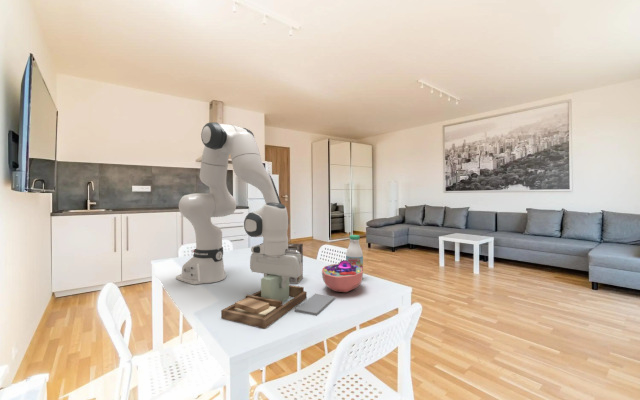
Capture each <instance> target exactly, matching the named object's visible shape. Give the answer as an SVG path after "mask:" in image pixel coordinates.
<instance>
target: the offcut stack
mask: <svg viewBox="0 0 640 400" xmlns="http://www.w3.org/2000/svg"><path fill="white" fill-rule="evenodd" d="M244 298H245V297H244ZM244 298H243V299H241V300H238V301H236V302H235V301H234V302H235V303H234V304H235V307H236V308H235V309H234V311H236V312H241V313H245V314H250V315H254V316H259V317H263V318H264V317H266V316H267V315H269V314H270V313H272V312H273V311H275V310H276V307H273V306H269V303H267V302H263V301H259V300H256V299H252V298H249V297H248V298H245V299H244Z"/></svg>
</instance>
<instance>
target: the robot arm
mask: <svg viewBox="0 0 640 400" xmlns="http://www.w3.org/2000/svg"><path fill="white" fill-rule="evenodd" d="M200 135H201V141H202V144H203V145H204V148H203V151H202V155H201V156H202V157H201V161H200V162H201V163H200V169H199V170H200V171H199V179H200V182H201V183H202V184H204V185H205V186H206V187H209V188H208V189H209V193H205V192H202V193H195V192H194V193H190V194H185V195H183V196H182V197H181V198H180V200H179V202H178V211H179V212H180V214H181V215H182V216H183V218H185V219H187V220H188V221H189V223H191V225H192V226H193V230H194V233H195V246H196V247H195V248H194V249H191V252H192V253H193V254H192V257H191V258H189V260H187V261H186V262H184V263H183V265H182V268H181V274H178V275H177V276H175V279H176V280H178V281H181V282H184V283H187V284H189V285H193V286H194V285H200V284H211V283H217V282H220V281H222V280H225V279H226V278H227V275H226V270H225V265H224V258H223V257H224V256H223V255H224V247H223V232H222V229H221V228H220V227H219V226H217V225H215V224H213V222H212V220H211V218H220V217H222V218H223V217H227V216H230V215H233V213H234V212H235V211H236V210H237V209H236V208H237V200H236V199H235V197H234V196H233V195H232V194H231V193H230V191H229V189H228V186H227V174H228V167H229V157H230V158H231V163H232V164H231V165H232V169H233V172H234V174H235V177H236V178H238V179H239V180H241V181H242V182H244V183H246V184H249V185H251V186H253V187H255V188H256V189H257V190H259V191H260V192H261V194H262V195H263V200H264V202H265V204H264V205H263V207H261V208H260V209H258V210H255V211H252V212H249V213H247V215H246V216H245V217H244V221H243V227H244V231H245V234H247V235H248V236H249V237H251V238H252V237H253V238H263V241H262V243H260V244H257V245H253V246H252V247H251V248H250V249H251V251H250V253H251V255H250V258H249V267H250V270H251V273H258V274H259V273H260V274H263V277H265V276H268V275H270V274H271V275H278V276H282V279H283V281H282V282H281V283H279V288H285V282H286V281H287V279H288V277H292V278H298V277H300V276H301V275H302V273H304V272H303V271H304V270H303V271H302V262H301V261H302V255H301V253H300V252H298V251H297V250H288V244H289V237H288V229H289V224H290V220H289V219H290V218H289V216H288V215H289V214H288V209H287V207H286V205H284V204H283V203H282V202H281V198H280V195H279V193H278V191H277V187H276V185H275V182H274V180H273V177H272V176H271V174H270V172H268V171H267V169H266V168H265V166H264V163H263V161H262V157H261V153H260V150H259V147H258V143H257V141H256V139H255V135H254V133H253V132H252V130H250V129H247V128H245V127H240V126H238V125H234V124H226V123H218V122H208V123H206V124H205V125H204V126H203V127H202V130H201V133H200ZM297 253H299V254H297Z"/></svg>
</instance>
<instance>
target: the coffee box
mask: <svg viewBox="0 0 640 400" xmlns="http://www.w3.org/2000/svg"><path fill="white" fill-rule="evenodd" d="M303 247H304V245H303V243H288V250H297V251H298V252H300V253H301V255H302V261H301V262H302V271H304V269H303V266H304V265H303V263H304V260H303V257H304V256H303V255H304V254H303V253H304V252H303V251H304V250H303ZM297 254H299V253H297ZM303 273H304V272H303ZM303 273H302V275H301V276H300V277H298V278H292V277H289V284H290V285H291V284H292V285H298V284H299V283H300V281H302V279H303V277H304V274H303Z"/></svg>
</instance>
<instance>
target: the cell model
mask: <svg viewBox="0 0 640 400" xmlns="http://www.w3.org/2000/svg"><path fill="white" fill-rule="evenodd" d="M362 275H363V276H364V270H363V271H362V267H360V266H357V265H351V263H350V262H349V261H347V260H346V259H343V260H340V261H339V263H337V264H336V263H335V264H332V263H331V264H330V265H329V264H328V265H326V266H323V268H322V269H321V277H322V280H323V283H324V285H325V286H327V287H328V288H329V289H330V290H332V291H334V292H342V293H348V292H350V291H352V290H354V289H357V288H358V287H359V286H360V285H361V284H362V282H363V279H362Z"/></svg>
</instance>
